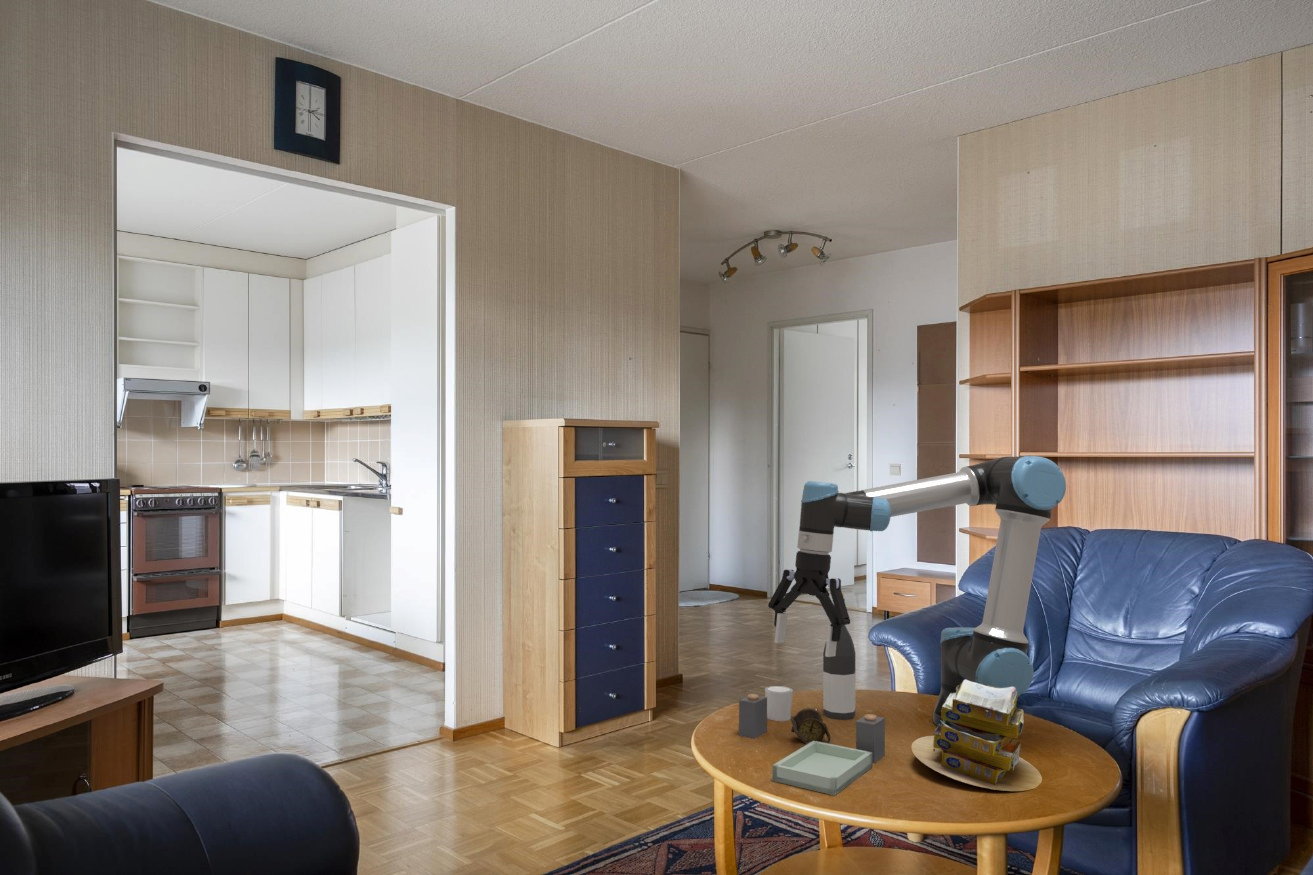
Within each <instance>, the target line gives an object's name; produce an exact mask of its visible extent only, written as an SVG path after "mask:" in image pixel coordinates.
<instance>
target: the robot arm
mask: <svg viewBox="0 0 1313 875" xmlns="http://www.w3.org/2000/svg"><path fill="white" fill-rule="evenodd" d="M1066 491H1067V483H1066V478H1065V475H1064V472H1063V471H1062V470H1061V468H1060V467H1059V465H1058V464H1056V462H1054V461H1052V460H1051V459H1048V458H1046V457H1044V456H1037V455H1023V456H1021V455H1020V456H1002V457H997V458H994V459H991V460H987V461H985V462H980V463H977V464H973V465H967V466H963V467H961V468H960V469H959V471H957V472H953V473H949V474H948V473H946V474H943V475H936V476H931V477H925V478H921V479H920V478H919V479H913V480H909V481H904V482H898V483H893V484H888V485H882V486H876V487H872V488H865V489H861V490H856V491H850V492H844V493H843V492H839V487H838V484H836V483H832V482H831V483H830V482H823V481H812V480H809V481H807V482H805V484H804V485H803V490H802V495H801V496H802V497H801V501H800V503H801V504H800V519H799V528H798V538H797V545H796V547H797V549H799V550H797V552H796V556H795V568H796V570H794V569H784V570H783V572H782V577H781V580H780V582H779V584H778V586H777V587H776V589H775V591H774V592H773V595H772V597H771V599H770V600H769V602H768V604H767V607H768V609H772V610H773V611H774V622H773V626H774V628H775V633H774V643H775V644H784V643H785V642H786V632H787V623H788V613H787V609H788V608H789V607H790V606H791V605H792V604H793V603H794V602H795V600H797V598H798V597H799V596H800V595H801V594H804V595H809V596H813V597H816V598H817V599H818V601H819V603H820V604H821V606H822V608H823V610H824V613H825V614H826V616H827V618H828V620H829V622H830V624H829V625H827V633H826V641H825V643H826V651H825V656H826V657H832V656H835V654H836V644H837V642H838V641H839V640H840V634H841V627H842V626H843V625H845V626H846V625H850V624H851V619H850V615H849V612H848V610H847V609H848V608H847V606H846V602H845V601H844V599H845V598H843V595H842V593H843V591H842V580H841V578H839V577H838V578H835V577H834V578H833V577H832V578H829V572H830V570H831V564H832V562H831V560H832V556H831V555H830V553H831V552H833V542H834V534H835V533H834V531H835V527H836V528H845V529H852V530H860V531H861V530H862V531H870V532H871V533H872V532H884V531H885V530H887V529H888V527H889V525H890V522H891V518H892V517H893V518H894V517H899V516H904V515H908V514H909V515H910V514H914V513H919V512H920V513H921V512H925V511H930V510H936V509H942V508H947V507H952V506H957V505H958V506H959V505H964V504H967V505H968V506H969V507H976V506H981V505H993V506H995V508H994V511H995V512H996V514H997V516H998V517H999V519H1000V521H999V529H998V532H997V537H996V538H997V539H996V544H995V550H994V555H993V561H992V567H991V572H990V578H989V584H988V590H987V593H986V594H987V595H986V601H985V606H984V612H983V617H982V621H981V624H980V625H978V626H976V627H971V626H970V627H968V626H967V627H964V626H963V627H962V626H961V627H960V626H959V627H958V626H957V627H956V626H955V627H946V628H945V627H944V628H943V629H942V631H941V634H940V641H939V645H940V692H939V695H938V698H937V701H936V703H935V706H934V710H933V717H932V718H933V720H932V721H933V723H934V725H935V726H936V727H937V726H938V725H939V724H940V723H941V721H940V720H942V719H941V709H942V706H943V705H944V703H945V701H946V699H947V697H948V696H949V694H950V693H956V691H957V690H956V689H957V688H958V689H959V687H960V684H961V683H962V682H963V680H968V681H971V682H976V683H979V684H984V685H989V686H993V687H998V688H1008V687H1015V688H1016V691H1017V692H1018V697H1020V696H1021V695H1022V694H1023V695H1024V694H1025V692H1026V691H1027V690H1028V689H1029V687H1030V686H1031V685H1032V681H1033V680H1034V665H1033V663H1032V662H1031V659H1030V657H1029V656H1028V655H1027V653H1028V650H1029V640H1028V639H1027V637H1026V636H1025V634H1024V627H1025V622H1026V616H1027V611H1028V604H1029V599H1030V594H1031V588H1032V587H1031V586H1032V582H1033V576H1034V572H1035V571H1034V570H1035V565H1036V559H1037V553H1038V548H1039V541H1040V536H1041V530H1042V527H1043V526H1044V525H1045V524H1047V523H1048V522H1050V521H1051V516H1052V513H1053V512H1052V511H1053V508H1055V507H1057V505H1059V504H1060V503H1061V502H1062V501H1063V499H1064V497H1065V495H1066ZM793 581H795V583H794V584H793V586H792V587H791V588H790V586H791V585H792V582H793ZM827 587H828V588H829V590H828V589H827ZM789 588H790V590H789ZM788 590H789V592H788ZM829 591H830V593H829ZM787 592H788V593H787ZM830 595H831V596H830ZM958 685H959V686H958ZM957 686H958V687H957ZM956 687H957V688H956ZM943 721H944V720H942V722H943ZM941 724H942V723H941Z"/></svg>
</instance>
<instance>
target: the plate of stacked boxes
mask: <svg viewBox="0 0 1313 875" xmlns="http://www.w3.org/2000/svg"><path fill="white" fill-rule="evenodd" d="M958 686H959V685H958ZM958 686H957V687H958ZM957 687H956V688H957ZM956 690H957V691H956V693H950V694H949V696H948V697H947V699H946V701H945V703H944V705H943V706H942V709H941V719H942V720H944V721H943V722H942V720H940V721H941V723H942V724H941V723H940V724H939V725H938V726H937V725H936V727H935V728H934V729H933V730H934V734H933V735H926V736H921V737H919V738H917V739H914V741H913V742H912V744H911V751H912V753H913V755H914V756H915V758H917V759H918V760H919V761H920V762H921V763H922V764H924V765H925V766H927V767H928V768H930V769H932V770H933V771H935V772H938V773H939V774H941V775H944V776H946V777H948V778H950V779H953V780H955V781H958V782H962V783H965V784H968V785H972V786H976V787H980V788H985V789H990V790H994V791H996V790H997V791H1003V792H1004V791H1005V792H1006V791H1007V792H1023V791H1029V790H1032V789H1036V788H1037V787H1039V785H1041V784H1042V783H1043V782H1042V781H1043V776H1042V775H1041V773H1040V771H1039V770H1038V769H1037V768H1036V767H1035V766H1034V765H1032V763H1030V762H1029V761H1027V760H1025V759H1024V758H1022V757H1020V751H1021V746H1022V742H1020V741H1019V740H1017V739H1018V737H1019V736H1021V734H1022V731H1023V727H1024V722H1025V720H1024V719H1025V717H1024V716H1025V711H1024V709H1022V708H1017V703H1018V702H1017V701H1018V698H1019V696H1018V692H1017V691H1016V688H1015V687H1008V688H998V687H993V686H989V685H984V684H979V683H976V682H971V681H968V680H963V682H962V683H961V684H960V687H959V689H958V688H957V689H956Z"/></svg>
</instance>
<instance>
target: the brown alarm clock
mask: <svg viewBox="0 0 1313 875" xmlns="http://www.w3.org/2000/svg"><path fill="white" fill-rule="evenodd" d="M790 721H791V724H792V725H791V730H790V732H791V733H794V734H795V735H796V737H797V738H798V739H799V741H801V742H803V743H804V746H805V745H807V744H809V743H810V742H812V741H818V742H823V743H828V744H831V743H830V742H831V740H832V739H831V735H830V731H829V728H828V726H827V724H826V723H825V722H824V719H823V716H822V715H821V713H820V712H819V711H818V710H816V709H813V708H810V707H809V708H803V709H801V710H800V711H798V712H796V714H795V715H794V716H792V717H791V718H790ZM825 735H826V737H827V738H826V739H827V741H822V740H823V738H825Z"/></svg>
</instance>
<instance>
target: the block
mask: <svg viewBox="0 0 1313 875" xmlns="http://www.w3.org/2000/svg"><path fill="white" fill-rule="evenodd" d="M885 720H886V718H885V717H882V716H881V717H880V716H877V715H876V714H873V713H872V714H871V713H867V714H864V716H862V717H860V718H859V719H858V720H855V749H858V750H863V751H868V752H872V764H874V765H875V764H876V763H877V762H879V761H880V760H881V759H883V758H884V757H885V756H886V754H885V753H886V750H885V749H886V746H885V745H886V744H885V743H886V737H885V734H886V731H885V730H886V726H885V725H886V723H885V722H886V721H885Z"/></svg>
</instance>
